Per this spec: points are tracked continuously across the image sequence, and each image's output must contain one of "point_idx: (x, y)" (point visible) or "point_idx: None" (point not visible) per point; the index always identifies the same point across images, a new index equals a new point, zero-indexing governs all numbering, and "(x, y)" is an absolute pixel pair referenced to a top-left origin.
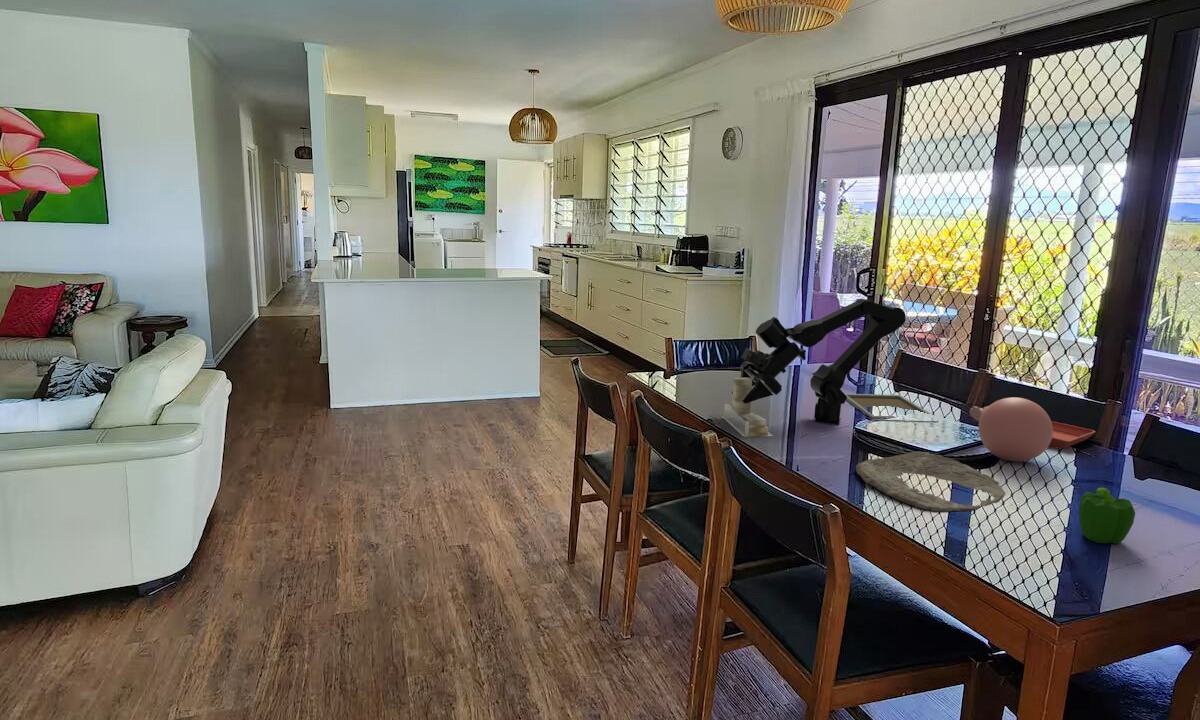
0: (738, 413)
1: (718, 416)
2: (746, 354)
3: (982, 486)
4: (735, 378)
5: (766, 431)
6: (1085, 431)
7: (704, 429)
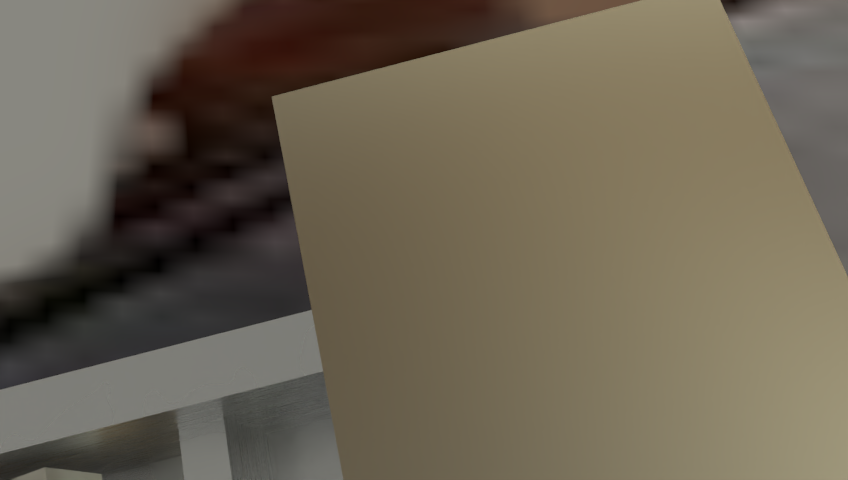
0: (61, 411)
1: None
2: None
3: None
4: (561, 58)
5: None
6: None
7: (180, 81)
